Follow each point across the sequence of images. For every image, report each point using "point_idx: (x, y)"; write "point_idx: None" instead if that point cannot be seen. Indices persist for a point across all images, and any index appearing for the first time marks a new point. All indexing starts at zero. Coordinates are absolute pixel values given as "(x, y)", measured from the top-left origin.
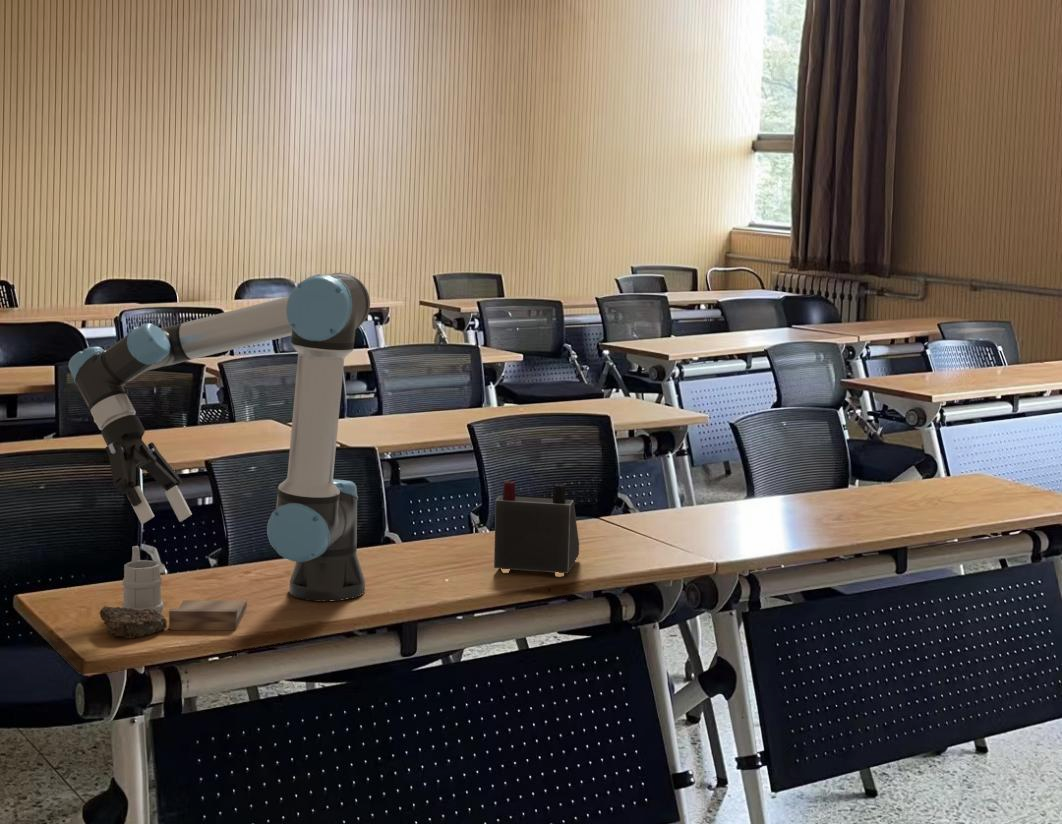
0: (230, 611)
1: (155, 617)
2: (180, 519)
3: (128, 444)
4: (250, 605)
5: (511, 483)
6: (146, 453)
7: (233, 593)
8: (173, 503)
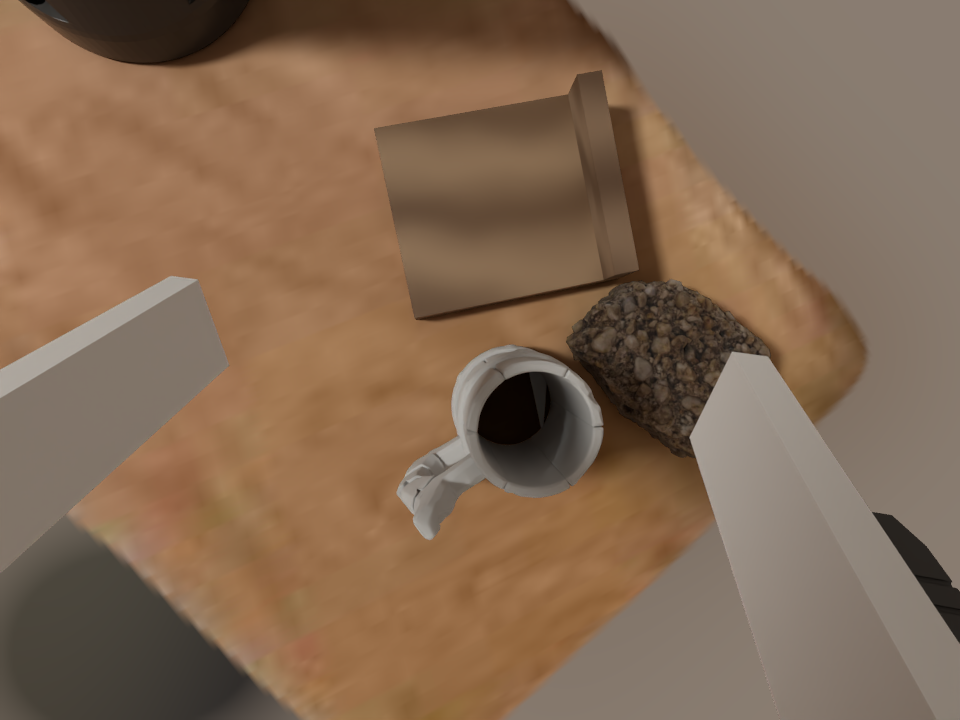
0: (604, 86)
1: (681, 293)
2: (219, 359)
3: None
4: (344, 139)
5: None
6: None
7: (230, 231)
8: (110, 443)
